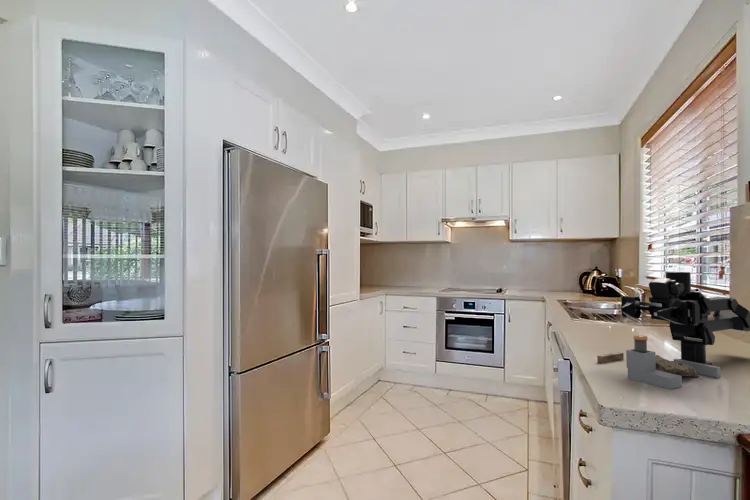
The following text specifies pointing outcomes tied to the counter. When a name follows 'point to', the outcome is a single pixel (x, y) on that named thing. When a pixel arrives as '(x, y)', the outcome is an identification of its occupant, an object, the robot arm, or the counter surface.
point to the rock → (675, 367)
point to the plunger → (640, 343)
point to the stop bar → (610, 357)
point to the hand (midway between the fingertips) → (638, 311)
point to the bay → (645, 371)
